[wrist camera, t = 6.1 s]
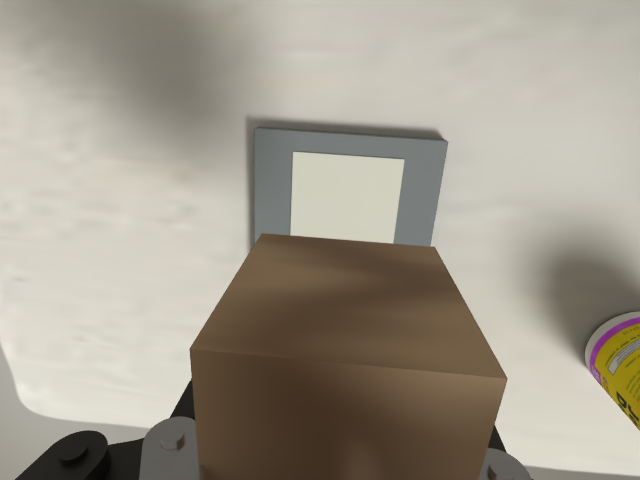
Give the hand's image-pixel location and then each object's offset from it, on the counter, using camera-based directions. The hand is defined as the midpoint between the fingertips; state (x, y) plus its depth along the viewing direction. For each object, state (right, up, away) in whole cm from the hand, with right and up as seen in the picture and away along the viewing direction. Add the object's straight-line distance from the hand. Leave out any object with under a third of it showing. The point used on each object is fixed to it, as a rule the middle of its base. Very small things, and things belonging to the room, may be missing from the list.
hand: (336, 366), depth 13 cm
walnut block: (0, 0, +1) cm, 1 cm away
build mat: (+1, +5, +14) cm, 15 cm away
